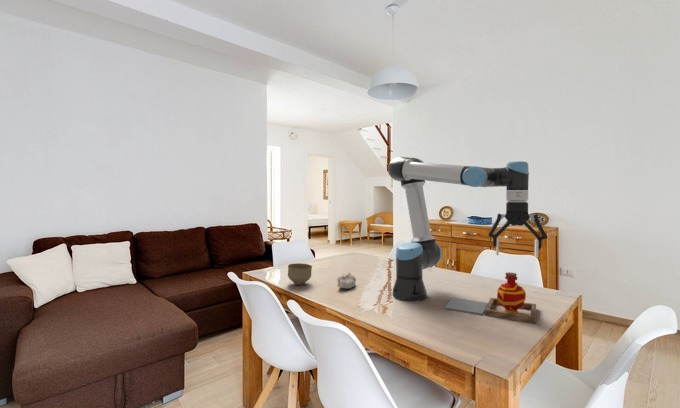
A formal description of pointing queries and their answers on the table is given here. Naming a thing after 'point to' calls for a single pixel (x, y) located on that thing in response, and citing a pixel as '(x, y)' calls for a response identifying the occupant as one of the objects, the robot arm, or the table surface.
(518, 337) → the table surface
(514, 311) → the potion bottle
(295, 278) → the bowl
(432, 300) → the table surface
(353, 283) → the stone
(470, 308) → the coaster
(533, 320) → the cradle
